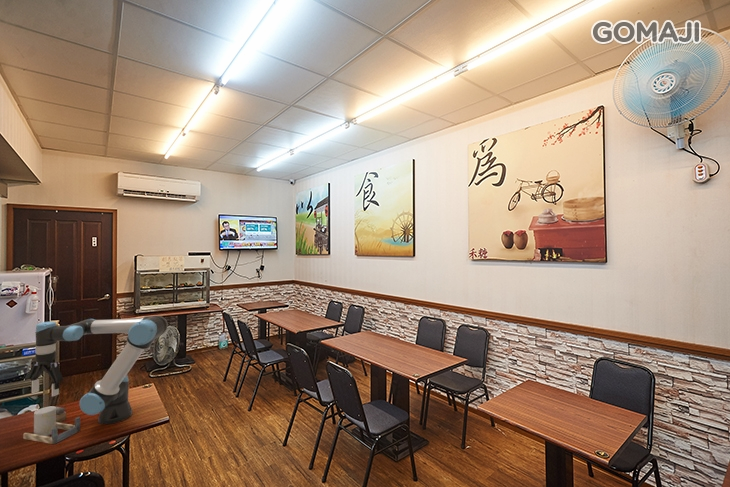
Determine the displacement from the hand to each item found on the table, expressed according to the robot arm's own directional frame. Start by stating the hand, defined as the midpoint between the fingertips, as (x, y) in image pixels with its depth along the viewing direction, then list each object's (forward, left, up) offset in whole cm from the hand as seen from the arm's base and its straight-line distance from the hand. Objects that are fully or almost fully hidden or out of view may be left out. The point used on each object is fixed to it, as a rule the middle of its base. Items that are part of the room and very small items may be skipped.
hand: (45, 394), depth 170 cm
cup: (0, 0, -20) cm, 20 cm away
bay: (-5, 0, -20) cm, 21 cm away
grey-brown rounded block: (+8, -11, -20) cm, 24 cm away
